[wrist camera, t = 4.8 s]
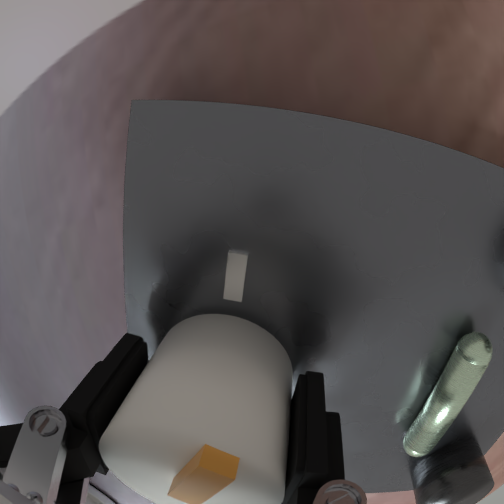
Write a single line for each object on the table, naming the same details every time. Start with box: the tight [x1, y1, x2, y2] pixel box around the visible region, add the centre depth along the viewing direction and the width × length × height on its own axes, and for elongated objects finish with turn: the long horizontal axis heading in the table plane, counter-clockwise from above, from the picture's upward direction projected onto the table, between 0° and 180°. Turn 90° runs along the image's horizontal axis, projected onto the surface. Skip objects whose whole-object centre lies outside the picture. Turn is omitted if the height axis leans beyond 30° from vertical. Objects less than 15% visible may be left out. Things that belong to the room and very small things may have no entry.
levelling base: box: [123, 100, 504, 504], centre depth 10 cm, size 18×20×5 cm
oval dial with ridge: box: [99, 314, 293, 504], centre depth 9 cm, size 5×5×6 cm
